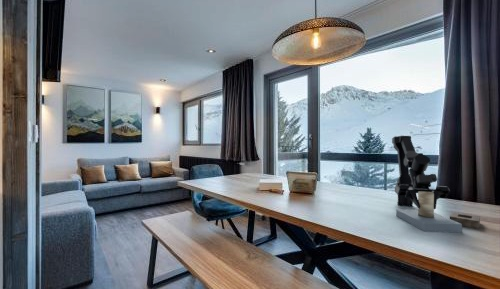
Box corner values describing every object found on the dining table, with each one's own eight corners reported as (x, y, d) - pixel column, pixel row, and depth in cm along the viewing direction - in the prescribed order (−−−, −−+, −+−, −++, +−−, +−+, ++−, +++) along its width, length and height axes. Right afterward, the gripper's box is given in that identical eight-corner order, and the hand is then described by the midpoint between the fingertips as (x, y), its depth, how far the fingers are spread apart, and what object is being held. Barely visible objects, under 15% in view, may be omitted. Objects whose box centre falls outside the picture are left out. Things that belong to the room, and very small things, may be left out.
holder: (449, 223, 104) (449, 216, 104) (452, 218, 110) (452, 211, 110) (478, 228, 97) (478, 221, 97) (479, 223, 104) (479, 216, 103)
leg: (415, 222, 105) (415, 192, 105) (421, 219, 108) (421, 190, 108) (430, 226, 101) (430, 194, 100) (436, 223, 104) (436, 192, 103)
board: (396, 215, 115) (396, 209, 115) (427, 215, 114) (427, 209, 114) (424, 231, 95) (424, 223, 95) (461, 231, 94) (461, 224, 94)
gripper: (398, 166, 111) (405, 196, 100) (448, 167, 105) (460, 199, 95) (394, 181, 118) (400, 210, 108) (440, 182, 113) (451, 213, 102)
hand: (427, 208), depth 103 cm, fingers closed on leg, 5 cm apart
